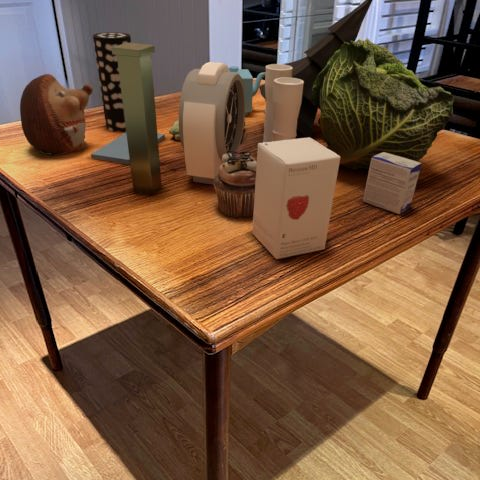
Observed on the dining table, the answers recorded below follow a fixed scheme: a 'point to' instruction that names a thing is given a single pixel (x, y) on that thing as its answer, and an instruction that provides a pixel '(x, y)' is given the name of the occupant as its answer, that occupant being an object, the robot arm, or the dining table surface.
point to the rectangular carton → (293, 195)
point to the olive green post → (140, 115)
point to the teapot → (248, 85)
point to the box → (391, 182)
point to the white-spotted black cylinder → (110, 78)
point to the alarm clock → (210, 118)
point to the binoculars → (281, 103)
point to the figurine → (54, 115)
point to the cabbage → (376, 106)
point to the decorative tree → (322, 62)
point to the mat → (117, 150)
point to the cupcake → (236, 184)
